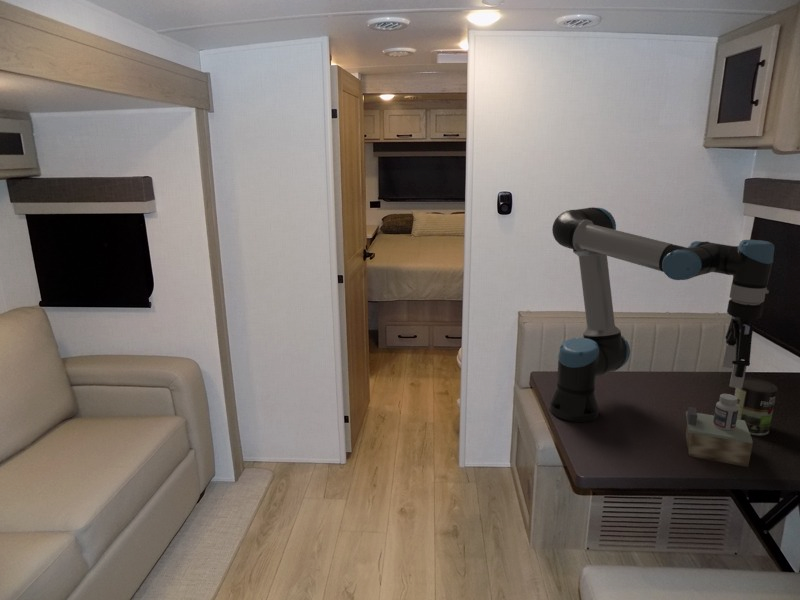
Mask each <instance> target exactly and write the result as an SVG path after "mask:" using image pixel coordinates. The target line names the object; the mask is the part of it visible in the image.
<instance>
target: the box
mask: <svg viewBox="0 0 800 600" xmlns="http://www.w3.org/2000/svg"><path fill="white" fill-rule="evenodd" d="M685 431H686V432H685V442H686V447H687V455H688V456H689V457H692V458H697V459H698V458H699V459H704V460H709V461H714V462H719V463H725V464H730V465H734V466H739V467H744V468H749V466H750V464H749V463H750V459H751V455H752V450H753V445H754V443H753V442H752V444H751V443H746V442H740V441H734V440H729V439H723V438H717V437H712V436H706V435H700V434H695V433H689V429H688V423H686V430H685Z"/></svg>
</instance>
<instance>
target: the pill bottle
mask: <svg viewBox="0 0 800 600" xmlns="http://www.w3.org/2000/svg"><path fill="white" fill-rule="evenodd" d="M736 403H737V397H735V396H734V395H733V394H729V393H721V394H720V395H719V401H717V402H716V404H715V408H714V409H715V410H714V414H713V415H714V420H713V424H714V426H716V427H717V428H719V429H722V430H734V429H735V427H736V421H737V415H738V409H739V408H738V406H737V405H736Z"/></svg>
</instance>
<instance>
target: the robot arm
mask: <svg viewBox="0 0 800 600" xmlns="http://www.w3.org/2000/svg"><path fill="white" fill-rule="evenodd" d="M552 236H553V238H554V239H555V241H556V242H557V243H558V244H559V245H560V246H562V247H564V248H566V249H567V248H568V249H570V250H572V252H573V254H575V255H576V256H577V257H578V261H579V269H580V279H581V287H582V295H583V302H584V312H585V320H586V329H585V330H584V332H583V333H582V335H583V337H578V338H576V337H574V338H570V339H566V340H565V341H564V342H562V343H561V345H560V347H559V352H558V358H557V359H558V363H557V376H556V377H557V378H556V387H555V389H554V391H553V393H552V396H551V397H550V400H549V408H548V409H549V411H550V413H551V414H553V415H554V416H555V417H557V418H559V419H562V420H564V421H568V422H573V423H588V422H591V421H595V420H596V419H597V418H598V417H599V412H600V411H599V410H600V409H599V404H598V400H597V395H596V382H597V378H598V377H601V376H604V375H606V374H609V373H611V372H615V371H617V370H619V369H620V368H622V367H624V366H625V365H626V364H627V363H628V361H629V359H630V354H631V347H630V345H629V342H628V341H627V340H626V338H625V337H624V336H623V335H622V331H621V329H619V328H618V327H617V326H616V324H615V315H614V307H613V306H614V305H613V297H612V287H611V279H610V278H611V277H610V270H609V261H608V257H610V258H614V259H618V260H621V261H624V262H628V263H631V264H636V265H638V266H641V267H646V268H649V269H651V270H652V269H653V270H655V271H659V272H662V273H664V275H666V277H668V279H671V280H674V281H681V280H682V281H687V280H690V279H692V278H695V277H698V276H702V275H706V274H709V273H716V274H722V275H728V276H733V277H732V281H731V287H730V292H729V298H730V299H729V300H728V305H727V308H726V309H727V310H726V313H727V314H728V315H729V316H731V319H730V323H729V326H728V329H727V332H726V335H725V343H726V344H725V348H724V354H723V358H722V364H721V367H722V368H726V369H727V368H728V369H732V371H731V376H730V380H729V387H730V388H734V389H736V388H741V389H742V387H743V382H744V378H746V371H747V367H750V365H751V363H750V361H751V351H752V340H753V332H754V326H753V324H751V321H752V320H759V319H761V317H762V314H763V309H764V304H763V303H764V302H765V298H766V295H767V294H769V292H770V291H769V289H768V288H767V287H768V284H769V280H770V275H771V271H772V267H773V263H774V254H775V253H774V252H775V245H774V244H773V243H772V242H770V241H768V240H760V239H743V240H741V241H740V242H739V245H727V244H722V243H715V242H711V241H699V240H698V241H697V240H695V241H692V242H691V243H690V244H689V245H688V246H683V245H682V246H681V245H677V244H673V243H669V242H666V241H661V240H658V239H653V238H649V237H646V236H642V235H637V234H633V233H630V232H624V231H621V230H617V224H616V220H615V218H614V216H613V214H612V213H611V212H609V211H608V210H607V209H605V208H603V207H593V206H592V207H586V208H578V209H569V210H566V211H563V212H561V213H560V214H559V215H558V216H556V218H555V219H554V221H553V224H552Z"/></svg>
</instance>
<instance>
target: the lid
mask: <svg viewBox="0 0 800 600" xmlns="http://www.w3.org/2000/svg"><path fill="white" fill-rule="evenodd" d="M685 417H686V422H687V423H688V429H689V433H695V434H700V435H706V436H712V437H717V438H723V439H729V440H734V441H740V442H746V443H751V444H752V443H753V439H752V435H750V433H749V430H748V428H747V425H746V422H745V421H744V420H738V419H737V421H736V427H735V429H734V430H722V429H719V428H717V427H716V426H714V424H713V420H714V414H706V413H701V412H697V408H696V407H692V406H688V408H687V410H686V411H685ZM687 423H686V424H687Z"/></svg>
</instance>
